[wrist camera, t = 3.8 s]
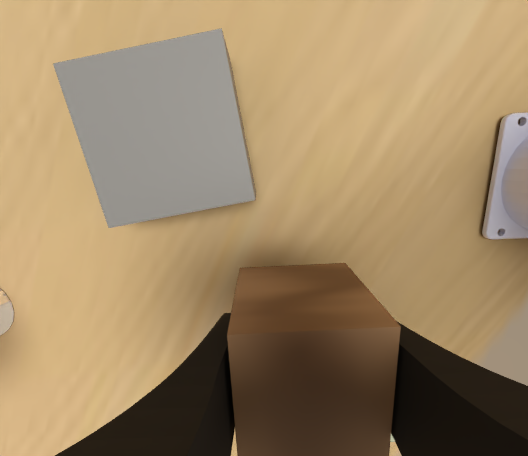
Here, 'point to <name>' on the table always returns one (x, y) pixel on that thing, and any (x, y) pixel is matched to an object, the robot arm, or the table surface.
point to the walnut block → (311, 363)
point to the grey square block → (160, 127)
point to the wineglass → (5, 313)
